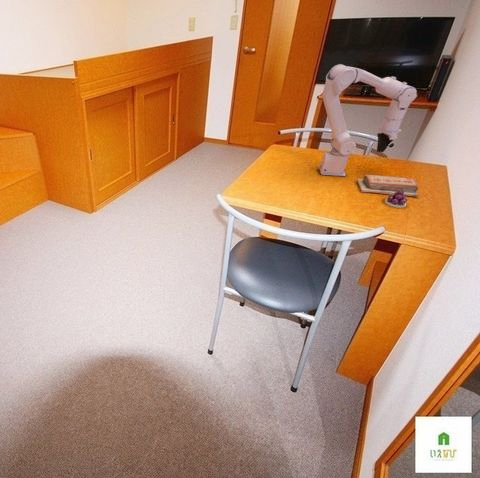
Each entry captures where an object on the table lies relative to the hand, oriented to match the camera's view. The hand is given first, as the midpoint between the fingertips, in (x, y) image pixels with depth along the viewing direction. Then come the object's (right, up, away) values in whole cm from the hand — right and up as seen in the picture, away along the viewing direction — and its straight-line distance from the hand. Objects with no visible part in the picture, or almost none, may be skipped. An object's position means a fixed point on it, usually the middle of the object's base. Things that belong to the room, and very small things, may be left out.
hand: (380, 151), depth 135 cm
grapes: (-8, -24, -17) cm, 31 cm away
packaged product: (-4, -17, -8) cm, 20 cm away
